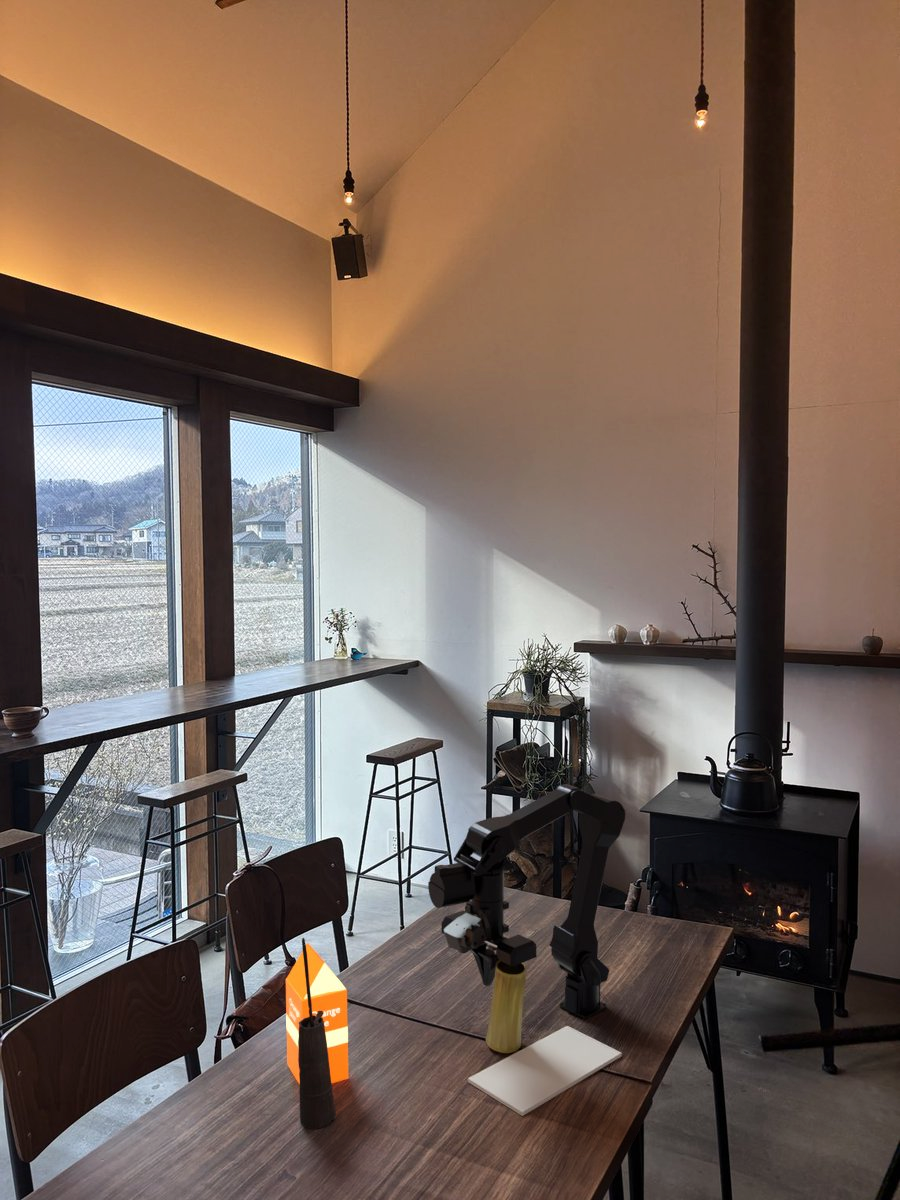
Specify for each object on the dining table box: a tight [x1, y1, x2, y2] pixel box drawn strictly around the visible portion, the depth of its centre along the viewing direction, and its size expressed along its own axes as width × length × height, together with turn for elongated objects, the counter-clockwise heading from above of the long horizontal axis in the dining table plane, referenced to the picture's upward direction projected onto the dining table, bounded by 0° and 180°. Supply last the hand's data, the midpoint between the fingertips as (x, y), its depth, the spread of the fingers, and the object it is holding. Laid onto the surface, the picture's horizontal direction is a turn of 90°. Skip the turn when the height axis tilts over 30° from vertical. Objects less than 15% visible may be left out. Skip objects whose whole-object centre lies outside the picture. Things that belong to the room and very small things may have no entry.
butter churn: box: [298, 937, 336, 1130], centre depth 134 cm, size 9×10×28 cm
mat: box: [467, 1025, 623, 1117], centre depth 145 cm, size 24×12×1 cm, turn 132°
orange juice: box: [285, 942, 349, 1085], centre depth 145 cm, size 8×9×20 cm
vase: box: [485, 960, 527, 1054], centre depth 152 cm, size 6×6×14 cm
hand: (487, 985), depth 155 cm, fingers closed
